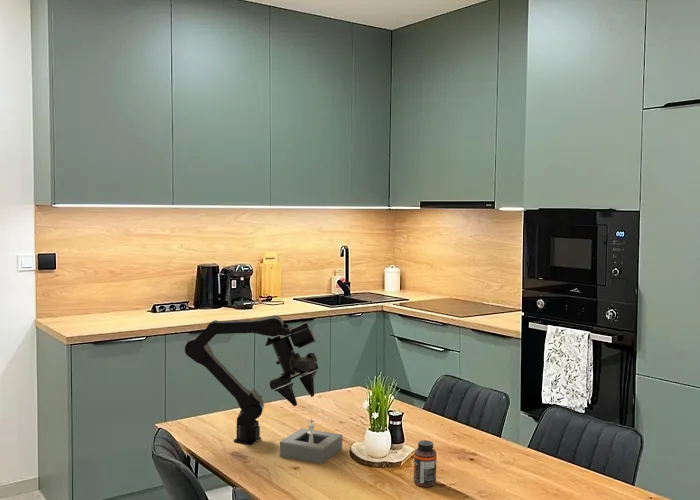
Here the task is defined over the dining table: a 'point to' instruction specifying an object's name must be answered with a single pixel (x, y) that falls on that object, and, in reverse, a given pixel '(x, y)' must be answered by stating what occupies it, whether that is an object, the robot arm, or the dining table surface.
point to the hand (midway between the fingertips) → (304, 401)
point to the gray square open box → (311, 446)
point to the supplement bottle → (425, 464)
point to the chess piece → (311, 431)
